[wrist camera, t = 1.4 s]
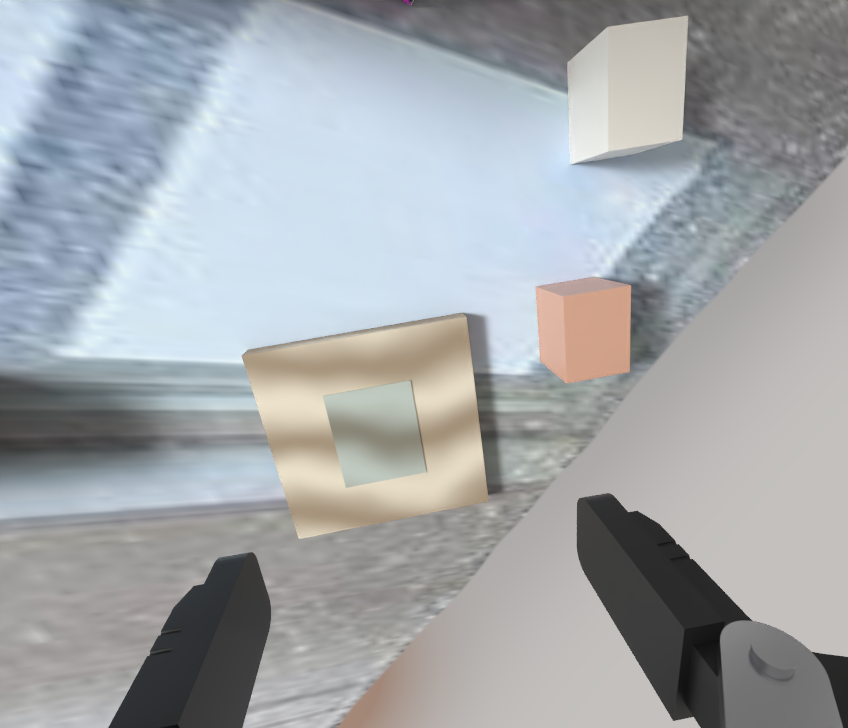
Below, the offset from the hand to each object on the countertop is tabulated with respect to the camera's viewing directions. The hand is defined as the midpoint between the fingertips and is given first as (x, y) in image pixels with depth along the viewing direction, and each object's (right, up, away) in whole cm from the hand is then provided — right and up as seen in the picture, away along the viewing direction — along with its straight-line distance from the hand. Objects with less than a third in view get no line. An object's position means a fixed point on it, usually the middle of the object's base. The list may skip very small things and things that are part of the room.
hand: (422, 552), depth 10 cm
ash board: (-4, 0, +23) cm, 23 cm away
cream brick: (+12, +22, +17) cm, 30 cm away
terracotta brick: (+11, +8, +22) cm, 26 cm away
